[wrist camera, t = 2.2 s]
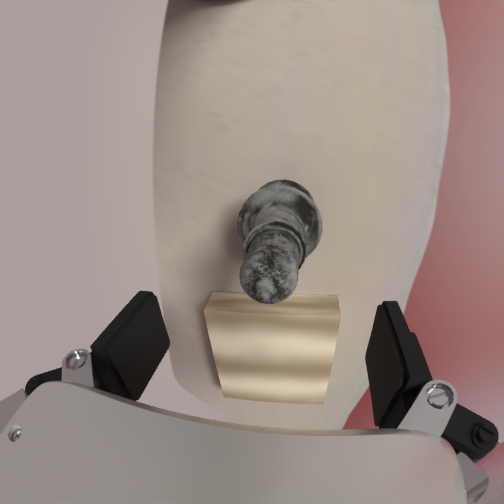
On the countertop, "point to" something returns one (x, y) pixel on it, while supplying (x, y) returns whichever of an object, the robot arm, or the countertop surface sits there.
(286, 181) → the weathered stone finial
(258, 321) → the birch base block
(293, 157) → the countertop surface
